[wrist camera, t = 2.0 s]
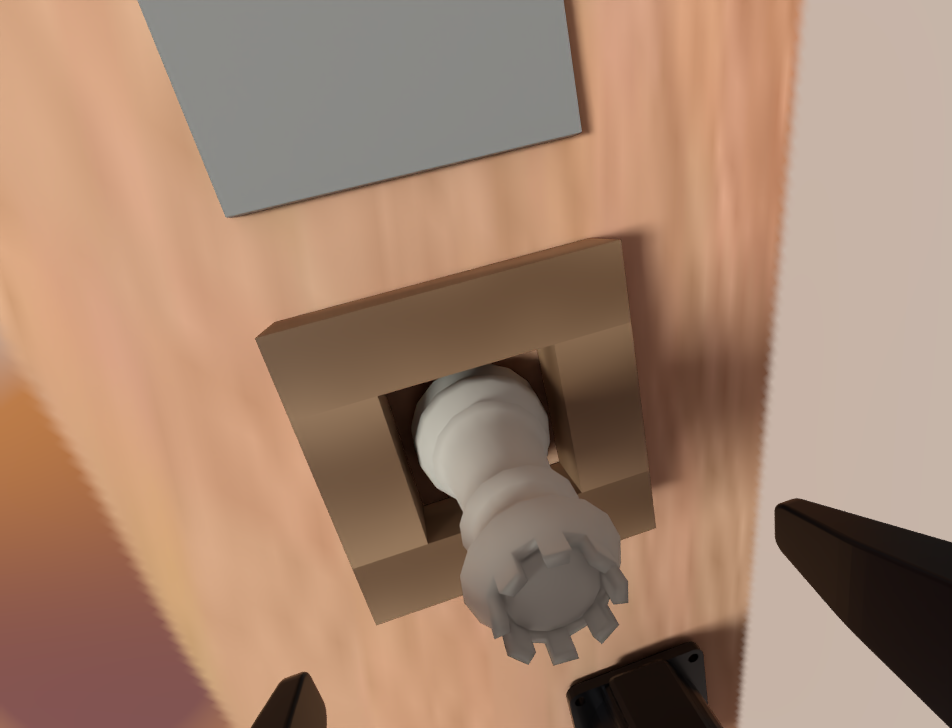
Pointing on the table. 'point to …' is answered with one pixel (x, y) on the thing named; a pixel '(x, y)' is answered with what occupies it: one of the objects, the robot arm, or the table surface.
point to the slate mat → (360, 88)
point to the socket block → (445, 353)
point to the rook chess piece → (518, 515)
